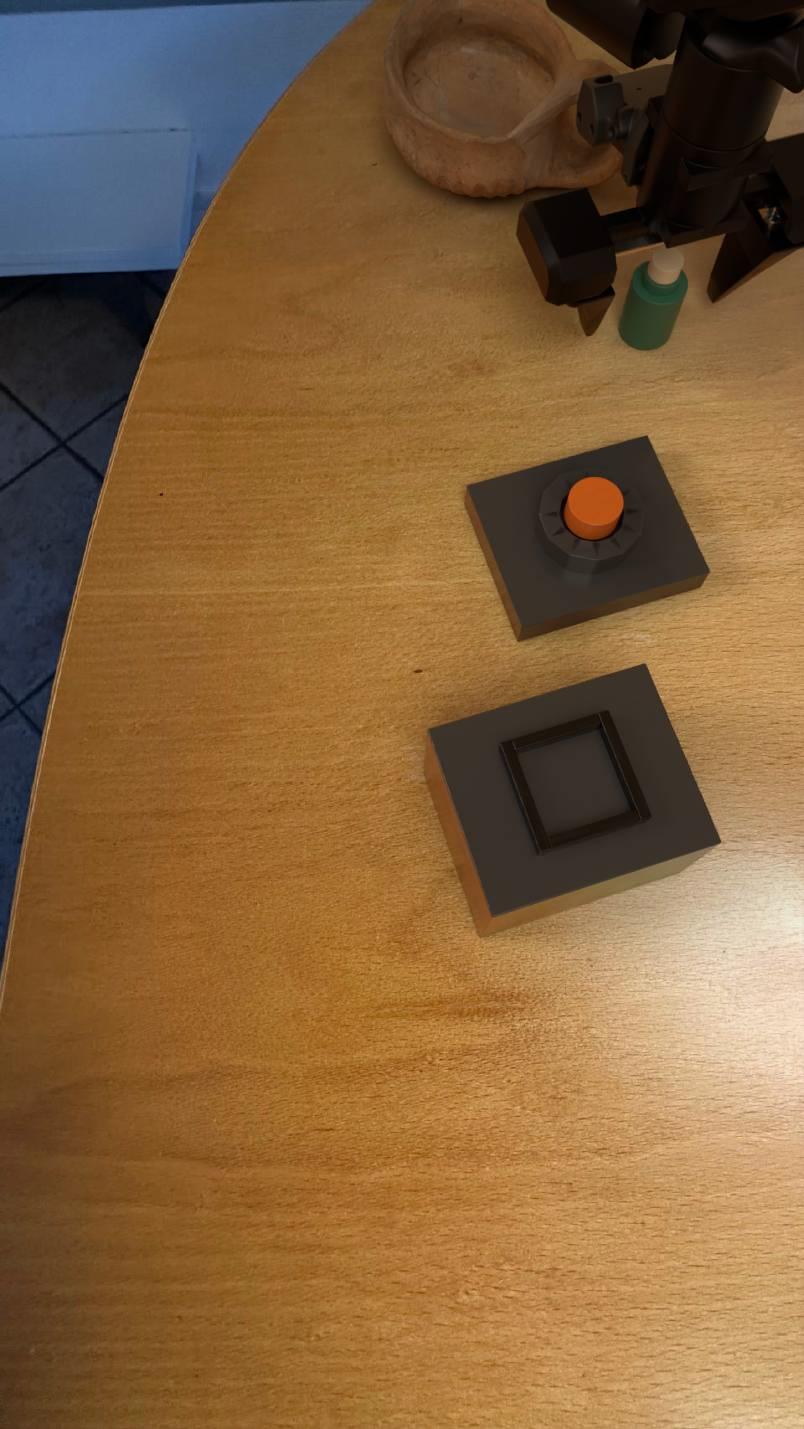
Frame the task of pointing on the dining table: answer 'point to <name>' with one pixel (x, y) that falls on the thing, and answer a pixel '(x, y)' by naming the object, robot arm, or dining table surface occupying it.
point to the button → (593, 508)
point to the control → (583, 540)
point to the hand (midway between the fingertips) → (649, 314)
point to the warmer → (565, 799)
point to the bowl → (489, 98)
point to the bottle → (654, 300)
